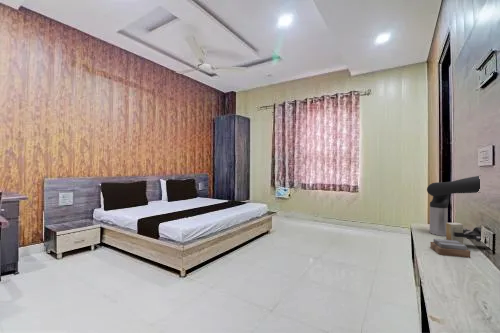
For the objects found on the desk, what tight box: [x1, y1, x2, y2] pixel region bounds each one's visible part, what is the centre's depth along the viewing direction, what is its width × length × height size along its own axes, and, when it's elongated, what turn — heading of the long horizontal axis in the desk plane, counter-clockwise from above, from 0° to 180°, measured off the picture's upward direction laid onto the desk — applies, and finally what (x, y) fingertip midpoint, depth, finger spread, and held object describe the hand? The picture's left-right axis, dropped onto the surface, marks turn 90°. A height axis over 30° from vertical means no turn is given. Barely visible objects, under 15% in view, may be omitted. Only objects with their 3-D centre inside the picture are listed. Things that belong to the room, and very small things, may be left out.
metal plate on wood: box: [429, 238, 471, 259], centre depth 124 cm, size 12×12×5 cm
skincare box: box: [445, 222, 465, 245], centre depth 135 cm, size 6×4×12 cm
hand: (450, 232), depth 135 cm, fingers open, 8 cm apart
